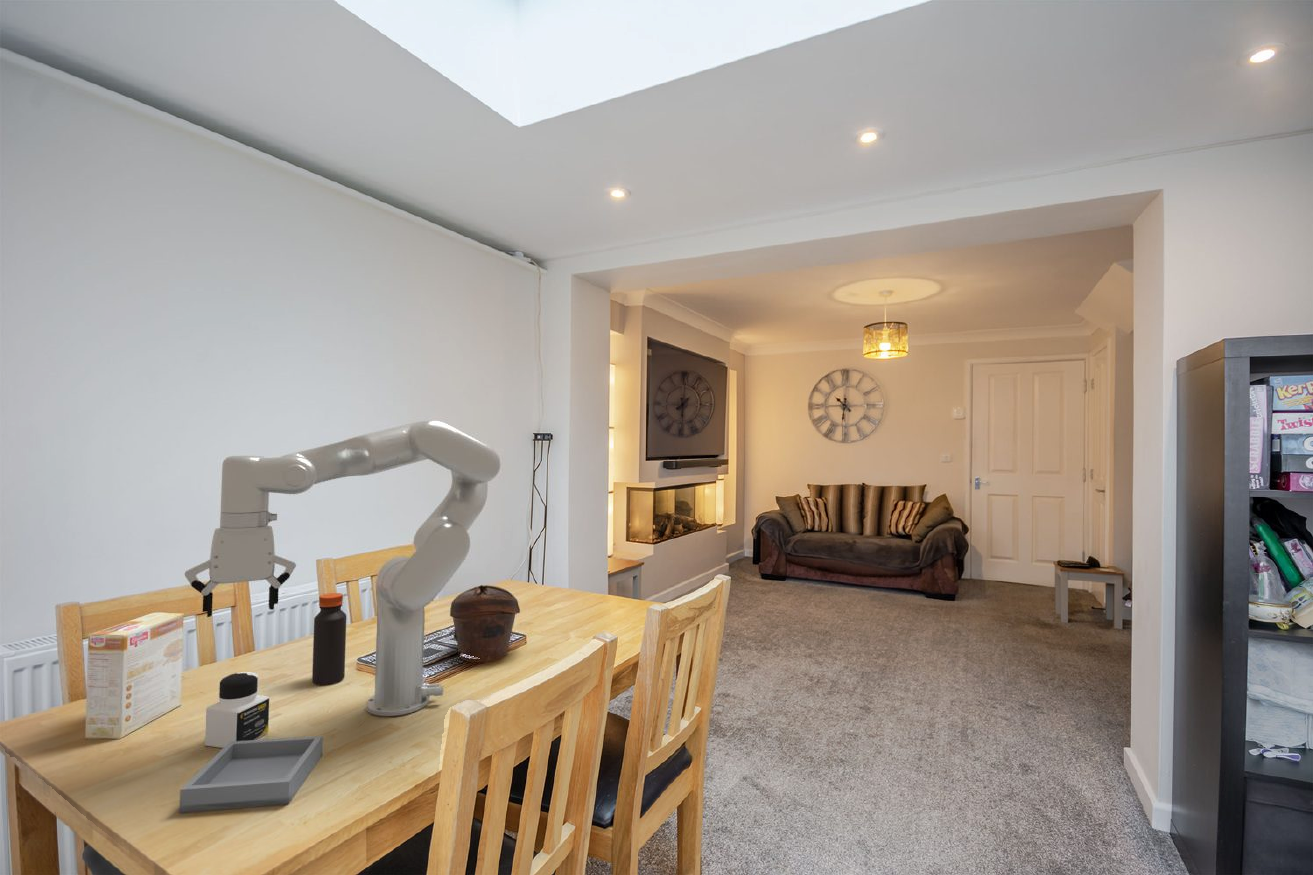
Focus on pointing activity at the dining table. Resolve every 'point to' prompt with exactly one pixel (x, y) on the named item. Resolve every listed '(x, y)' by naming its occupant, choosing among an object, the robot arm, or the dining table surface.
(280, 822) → the dining table surface
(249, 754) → the grey tray
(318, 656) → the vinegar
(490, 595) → the brown lidded pot
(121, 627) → the coffeecake box
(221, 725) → the medicine bottle
